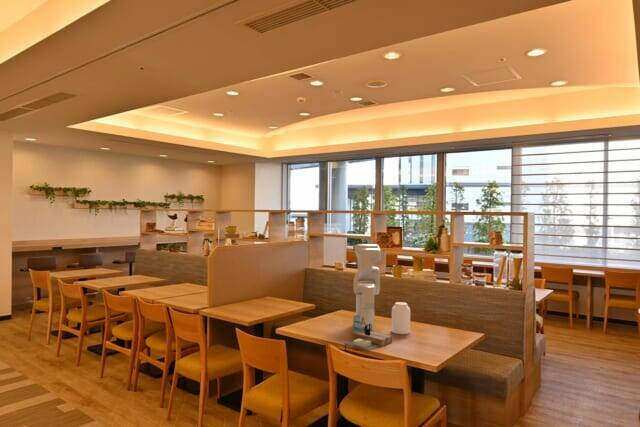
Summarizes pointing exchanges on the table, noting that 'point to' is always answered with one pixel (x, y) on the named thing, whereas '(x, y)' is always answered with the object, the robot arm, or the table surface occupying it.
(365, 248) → the robot arm
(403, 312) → the can
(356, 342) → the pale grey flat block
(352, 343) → the mat
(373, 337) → the block
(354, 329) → the data package
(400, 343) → the table surface
